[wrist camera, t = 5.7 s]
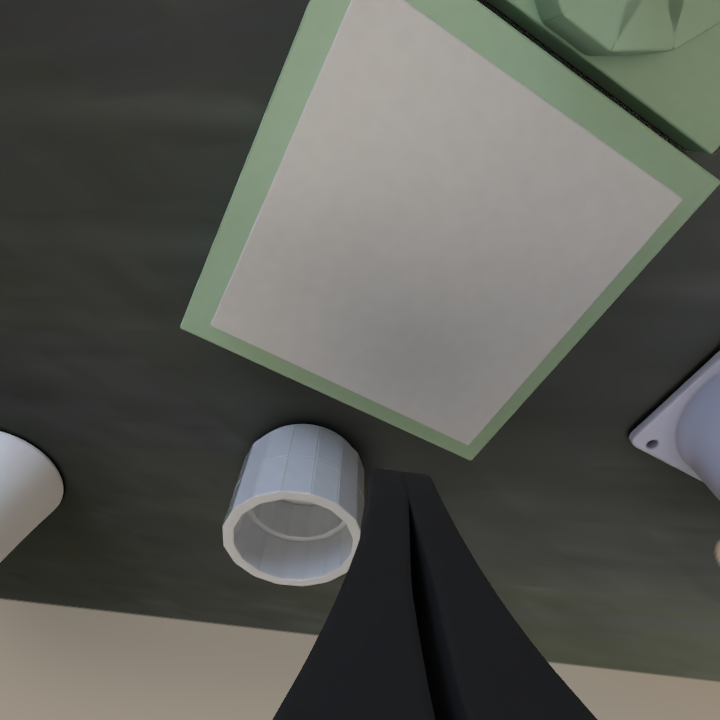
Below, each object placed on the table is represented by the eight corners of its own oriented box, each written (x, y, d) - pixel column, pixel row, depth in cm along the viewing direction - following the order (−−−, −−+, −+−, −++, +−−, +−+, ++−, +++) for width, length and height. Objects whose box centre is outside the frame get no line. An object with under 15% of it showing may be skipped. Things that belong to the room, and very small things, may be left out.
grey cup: (385, 448, 22) (389, 524, 18) (330, 520, 25) (324, 600, 21) (275, 400, 21) (255, 471, 17) (230, 481, 23) (202, 559, 20)
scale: (684, 172, 16) (736, 185, 14) (463, 432, 22) (474, 471, 19) (350, -72, 13) (346, -106, 11) (196, 306, 19) (172, 336, 16)
